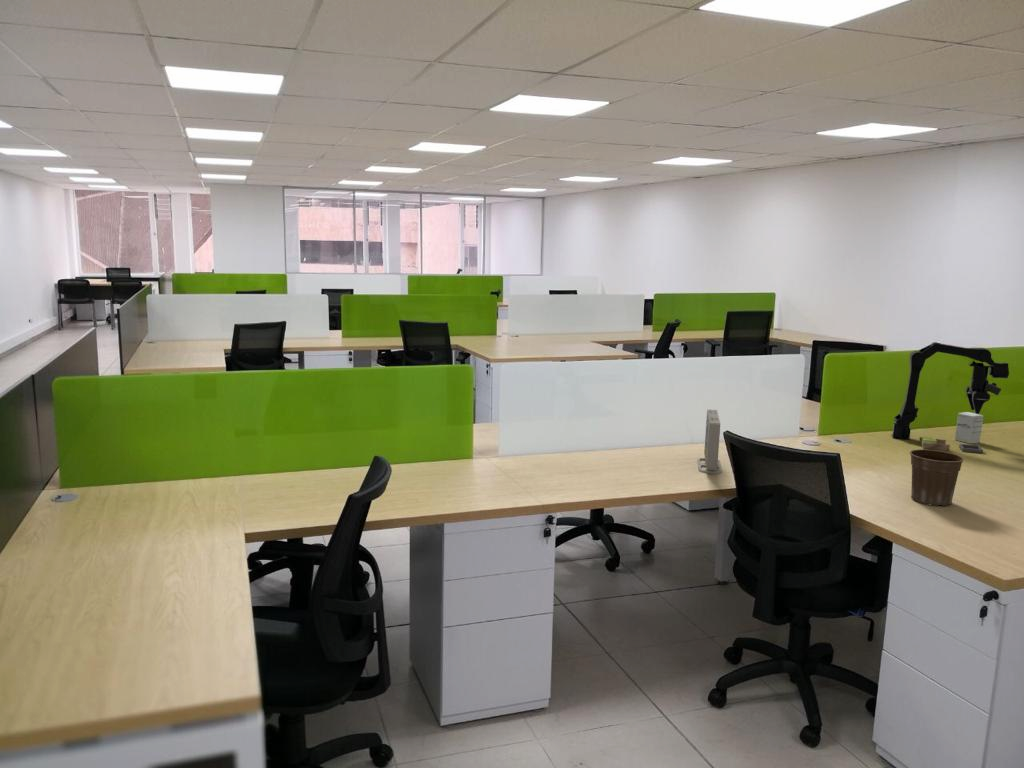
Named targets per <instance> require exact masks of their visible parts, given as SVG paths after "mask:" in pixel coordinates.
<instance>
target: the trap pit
mask: <svg viewBox="0 0 1024 768" xmlns="http://www.w3.org/2000/svg"><path fill="white" fill-rule="evenodd" d="M958 448H959V449H960V451H962V452H965V453H975V454H977V453H978V454H984V449H983V447H981V446H980V445H975V444H965V443H964V444H963V443H959V444H958Z"/></svg>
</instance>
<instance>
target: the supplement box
mask: <svg viewBox="0 0 1024 768" xmlns="http://www.w3.org/2000/svg"><path fill="white" fill-rule="evenodd" d="M983 420H984V414H980V413H979V414H976V412H970V411H965V412H964V411H963V412H958V414H957V421H956V429H955V435H954V441H959V442H963V443H967V444H968V445H971V444H978V443H980V442H981V436H982V435H981V434H982V429H983V422H984V421H983Z"/></svg>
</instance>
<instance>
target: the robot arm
mask: <svg viewBox="0 0 1024 768" xmlns="http://www.w3.org/2000/svg"><path fill="white" fill-rule="evenodd" d="M936 353H942V354H949V355H953V356H954V355H955V356H960V357H966V358H969V359H972V361H970V362H969V363H968V366H969V367H972V372H971V373H972V374H971V377H970V381H971V382H970V385H967V386H966V387H965V391H964V392H965V395H966V397H967V400H968V403H969V406H970V410H971V411H974V413H975V414H980V413H981V410H982V408H983V406H984V404H985V403H987V402H989V401H990V400H991V395H990V393H991V394H994V395H995V396H999V394H1000V392H1001V391H1002V388H1001V387H999V386H997V383H996V382H993V381H991V382H990V383H989V380H988V376H991V378H993V379H1009V378H1008V377H1009V374H1010V371H1009V362H995V361H994V359H993V358H992V352H991V351H990V350H989V349H987V348H984V347H965V346H958V345H952V344H945V343H941V342H937V341H934V342H931V344H928V345H927V346H924V347H922V348H921V349H919V350H913V351H912V352H911V353H909V356H908V357H909V359H908V360H909V375H908V376H909V377H908V381H907V387H906V394H905V399H904V402H903V404H902V406H901V409H900V411H899V413H898V414H897V415H896V416H894V418H893V419H894V422H893V426H892V433H891V436H892V439H897V440H910V437H911V429H912V428H911V427H910V425H911V423H913V422H914V421H915V420H916V418H918V413H919V407H918V406H917V405H916V404H915V403H916V397H917V392H918V385H919V380H920V374H921V372H922V369H923V368H924V365H925V363H926V361H927V360H928V359H929V358H931V357H932V356H933V355H936ZM976 361H977V362H976ZM984 363H986V364H984ZM987 364H988V365H987ZM988 392H989V393H988Z"/></svg>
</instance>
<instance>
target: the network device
mask: <svg viewBox="0 0 1024 768" xmlns="http://www.w3.org/2000/svg"><path fill="white" fill-rule="evenodd" d="M720 435H721V419H720V416H719V412H718V410H717V409H707V410H706V422H705V437H704V448H703V449H704V450H703V451H704V457H699V458H697V460H696V461H697V470H698V471H699V473H700V472H701V473H704V474H705V473H706V474H721V473H723V468H722V464H721V463H722V462H721V460H720V459H719V448H720ZM701 461H705V462H701ZM702 468H706V469H702Z"/></svg>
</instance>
